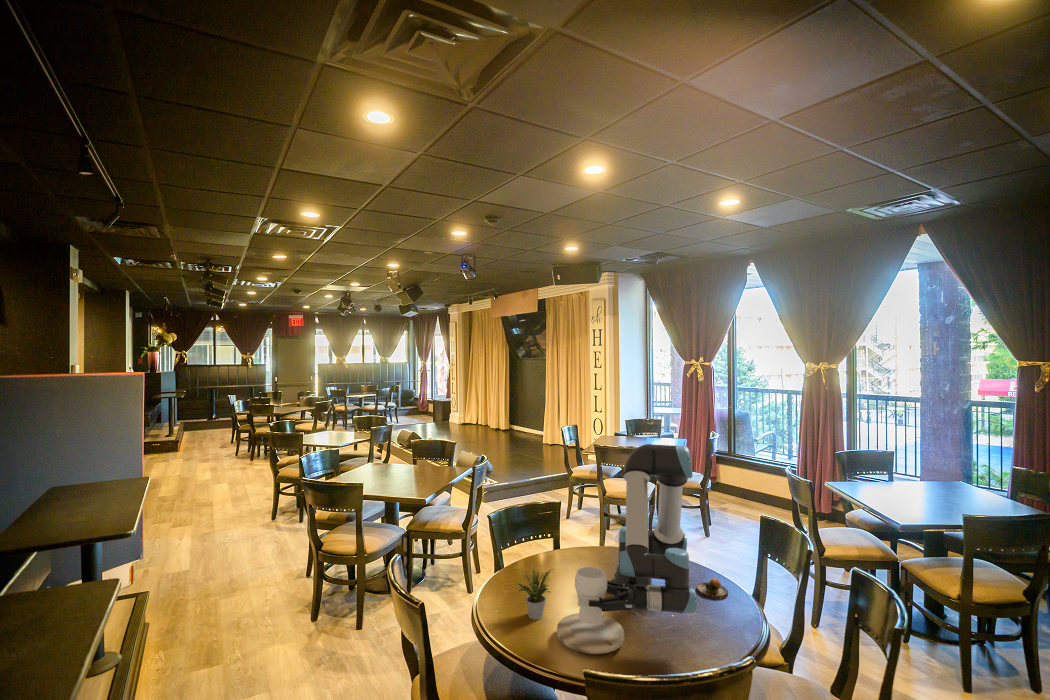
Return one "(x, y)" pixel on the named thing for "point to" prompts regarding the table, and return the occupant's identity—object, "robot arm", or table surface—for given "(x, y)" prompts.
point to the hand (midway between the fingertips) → (578, 592)
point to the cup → (590, 591)
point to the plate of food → (713, 589)
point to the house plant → (535, 594)
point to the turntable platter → (590, 634)
